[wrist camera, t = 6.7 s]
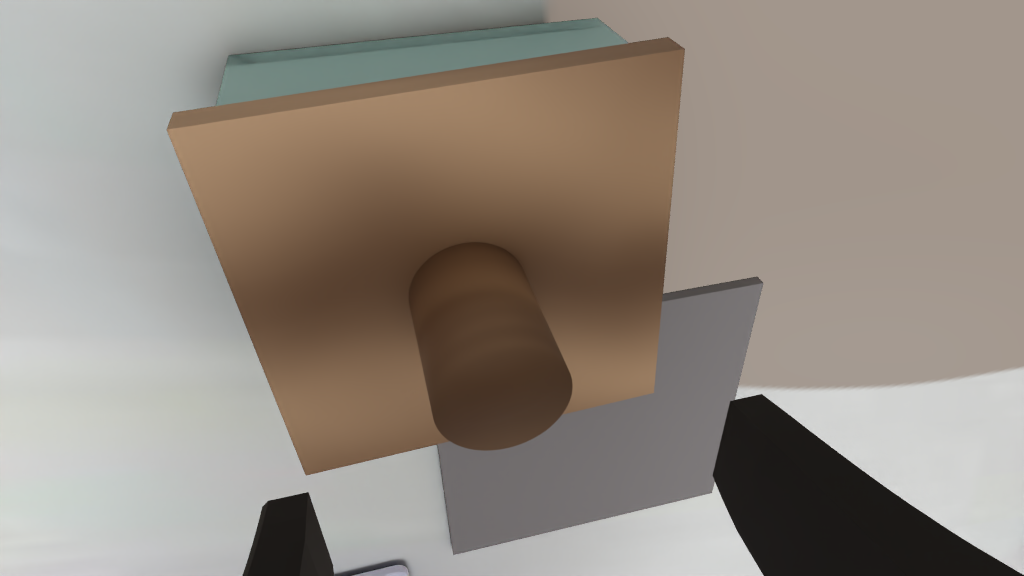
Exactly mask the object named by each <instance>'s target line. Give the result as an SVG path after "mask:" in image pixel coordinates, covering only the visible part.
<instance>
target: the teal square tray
mask: <svg viewBox="0 0 1024 576" xmlns="http://www.w3.org/2000/svg"><path fill="white" fill-rule="evenodd" d="M627 43H628V42H627V41H625V40H624V39H623V38H622V37H620V36H619V35H618V34H617V33H616V32H614V31H613V30H612V29H611V28H609V27H608V26H607V25H606V24H604V23H603V22H602V21H601V20H599V19H598V18H592V19H582V20H572V21H562V22H552V23H543V24H533V25H523V26H513V27H504V28H494V29H484V30H474V31H465V32H455V33H445V34H435V35H425V36H416V37H406V38H396V39H386V40H377V41H367V42H357V43H347V44H337V45H328V46H318V47H308V48H298V49H289V50H279V51H269V52H259V53H250V54H240V55H230V56H228V59H227V63H226V67H225V71H224V75H223V79H222V83H221V87H220V91H219V95H218V99H217V103H216V106H220V105H226V104H233V103H240V102H246V101H253V100H259V99H266V98H272V97H279V96H286V95H292V94H299V93H305V92H312V91H318V90H325V89H331V88H338V87H345V86H351V85H358V84H364V83H371V82H377V81H384V80H391V79H397V78H404V77H410V76H417V75H423V74H430V73H436V72H443V71H450V70H456V69H463V68H469V67H476V66H482V65H489V64H496V63H502V62H509V61H515V60H522V59H528V58H535V57H542V56H548V55H555V54H561V53H568V52H574V51H581V50H587V49H594V48H601V47H607V46H614V45H620V44H627Z"/></svg>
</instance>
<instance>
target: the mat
mask: <svg viewBox="0 0 1024 576" xmlns="http://www.w3.org/2000/svg"><path fill="white" fill-rule="evenodd" d="M762 287H763V282H762V281H761V280H760V279H759V278H758V277H753V278H747V279H742V280H737V281H731V282H726V283H720V284H714V285H709V286H703V287H698V288H692V289H687V290H682V291H676V292H670V293H665V294H663V297H662V308H661V319H660V330H659V341H658V352H657V363H656V375H655V386H654V393H651V394H647V395H643V396H639V397H635V398H630V399H626V400H622V401H618V402H614V403H609V404H605V405H601V406H597V407H592V408H588V409H584V410H580V411H576V412H571V413H567V414H563V415H561V417H560V418H559V419H558V420H557V421H556V422H555V423H554V424H553V425H552V426H551V427H550V428H549V429H547V430H546V431H545V432H543V433H542V434H540V435H539V436H537V437H535V438H534V439H531V440H529V441H527V442H525V443H522V444H520V445H517V446H514V447H510V448H506V449H501V450H492V451H481V450H472V449H467V448H464V447H461V446H458V445H456V444H454V443H452V442H450V441H449V442H445V443H441V444H438V451H439V458H440V465H441V473H442V480H443V487H444V494H445V501H446V508H447V515H448V522H449V529H450V536H451V543H452V549H453V554H454V555H455V554H459V553H464V552H468V551H472V550H476V549H480V548H484V547H488V546H493V545H497V544H501V543H505V542H509V541H513V540H518V539H522V538H526V537H530V536H534V535H538V534H543V533H547V532H551V531H555V530H559V529H563V528H568V527H572V526H576V525H580V524H584V523H588V522H593V521H597V520H601V519H605V518H609V517H613V516H618V515H622V514H626V513H630V512H634V511H638V510H643V509H647V508H651V507H655V506H659V505H663V504H667V503H672V502H676V501H680V500H684V499H688V498H692V497H697V496H701V495H705V494H709V493H712V490H713V486H714V482H715V480H714V478H713V476H712V475H713V471H714V467H715V463H716V458H717V454H718V450H719V446H720V441H721V437H722V433H723V429H724V425H725V420H726V416H727V412H728V408H729V404H730V401H733V400H735V397H736V392H737V388H738V384H739V380H740V376H741V372H742V368H743V364H744V360H745V356H746V352H747V347H748V344H749V339H750V335H751V331H752V327H753V323H754V319H755V315H756V311H757V307H758V303H759V299H760V295H761V290H762Z"/></svg>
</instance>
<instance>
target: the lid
mask: <svg viewBox="0 0 1024 576" xmlns="http://www.w3.org/2000/svg"><path fill="white" fill-rule="evenodd" d="M684 52H685V49H684V48H682V47H681V46H680V45H678V44H677V43H676V42H674V41H673V40H671V39H670V38H668V37H667V38H661V39H654V40H647V41H640V42H633V43H627V44H620V45H614V46H607V47H601V48H594V49H587V50H581V51H574V52H568V53H561V54H555V55H548V56H542V57H535V58H528V59H522V60H515V61H509V62H502V63H496V64H489V65H482V66H476V67H469V68H463V69H456V70H450V71H443V72H436V73H430V74H423V75H417V76H410V77H404V78H397V79H391V80H384V81H377V82H371V83H364V84H358V85H351V86H345V87H338V88H331V89H325V90H318V91H312V92H305V93H299V94H292V95H286V96H279V97H272V98H266V99H259V100H253V101H246V102H240V103H233V104H226V105H220V106H213V107H207V108H200V109H194V110H187V111H181V112H174V113H173V114H172V117H171V120H170V122H169V125H168V128H167V132H168V134H169V137H170V139H171V142H172V144H173V147H174V149H175V152H176V154H177V157H178V159H179V161H180V164H181V166H182V169H183V171H184V174H185V176H186V179H187V181H188V184H189V186H190V189H191V191H192V194H193V196H194V199H195V201H196V204H197V206H198V209H199V211H200V214H201V216H202V219H203V221H204V224H205V226H206V229H207V231H208V234H209V236H210V238H211V241H212V243H213V246H214V248H215V251H216V253H217V256H218V258H219V261H220V263H221V266H222V268H223V271H224V273H225V276H226V278H227V281H228V283H229V286H230V288H231V291H232V293H233V296H234V298H235V301H236V303H237V306H238V308H239V310H240V313H241V315H242V318H243V320H244V323H245V325H246V328H247V330H248V333H249V335H250V338H251V340H252V343H253V345H254V348H255V350H256V353H257V355H258V358H259V360H260V363H261V365H262V368H263V370H264V373H265V375H266V378H267V380H268V383H269V385H270V387H271V390H272V392H273V395H274V397H275V400H276V402H277V405H278V407H279V410H280V412H281V415H282V417H283V420H284V422H285V425H286V427H287V430H288V432H289V435H290V437H291V440H292V442H293V445H294V447H295V450H296V452H297V455H298V457H299V460H300V462H301V464H302V467H303V469H304V472H305V474H306V475H310V474H314V473H318V472H323V471H327V470H331V469H335V468H340V467H344V466H348V465H352V464H356V463H361V462H365V461H369V460H373V459H378V458H382V457H386V456H390V455H394V454H399V453H403V452H407V451H411V450H415V449H420V448H424V447H428V446H432V445H437V444H441V443H445V442H449V441H450V442H452V443H454V444H456V445H458V446H461V447H464V448H467V449H472V450H481V451H492V450H501V449H506V448H510V447H514V446H517V445H520V444H522V443H525V442H527V441H529V440H531V439H534V438H535V437H537V436H539V435H540V434H542V433H543V432H545V431H546V430H547V429H549V428H550V427H551V426H552V425H553V424H554V423H555V422H556V421H557V420H558V419H559V418H560V417H561V415H563V414H567V413H571V412H576V411H580V410H584V409H588V408H592V407H597V406H601V405H605V404H609V403H614V402H618V401H622V400H626V399H630V398H635V397H639V396H643V395H647V394H651V393H654V386H655V375H656V363H657V352H658V341H659V330H660V319H661V308H662V297H663V286H664V274H665V263H666V252H667V241H668V230H669V218H670V207H671V197H672V186H673V174H674V163H675V152H676V141H677V130H678V119H679V108H680V96H681V84H682V74H683V63H684Z"/></svg>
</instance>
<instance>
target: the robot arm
mask: <svg viewBox="0 0 1024 576" xmlns="http://www.w3.org/2000/svg"><path fill="white" fill-rule="evenodd" d="M712 476H713V478H714V480H715V483H716V485H717V487H718V490H719V492H720V494H721V497H722V499H723V501H724V503H725V506H726V508H727V510H728V512H729V514H730V516H731V519H732V521H733V523H734V525H735V527H736V529H737V531H738V533H739V535H740V536H741V538H742V540H743V541H744V543H745V545H746V547H747V548H748V550H749V552H750V553H751V555H752V557H753V558H754V560H755V562H756V563H757V565H758V567H759V568H760V570H761V572H762V573H763V575H764V576H1024V575H1022V574H1021V573H1019V572H1017V571H1016V570H1014V569H1012V568H1011V567H1009V566H1007V565H1005V564H1004V563H1002V562H1000V561H999V560H997V559H995V558H994V557H992V556H990V555H988V554H987V553H985V552H983V551H982V550H980V549H978V548H977V547H975V546H973V545H972V544H970V543H968V542H967V541H965V540H964V539H962V538H960V537H959V536H957V535H956V534H954V533H952V532H951V531H949V530H948V529H946V528H945V527H943V526H942V525H940V524H939V523H937V522H936V521H934V520H933V519H931V518H930V517H928V516H927V515H925V514H924V513H922V512H921V511H919V510H918V509H916V508H915V507H913V506H912V505H910V504H909V503H907V502H906V501H904V500H903V499H901V498H900V497H899V496H897V495H896V494H894V493H893V492H891V491H890V490H889V489H887V488H886V487H884V486H883V485H882V484H880V483H879V482H877V481H876V480H875V479H873V478H872V477H870V476H869V475H868V474H866V473H865V472H864V471H862V470H861V469H859V468H858V467H857V466H855V465H854V464H853V463H851V462H850V461H849V460H847V459H846V458H845V457H843V456H842V455H841V454H839V453H838V452H837V451H835V450H834V449H833V448H831V447H830V446H829V445H827V444H826V443H825V442H824V441H822V440H821V439H820V438H818V437H817V436H816V435H814V434H813V433H812V432H810V431H809V430H808V429H807V428H805V427H804V426H803V425H801V424H800V423H799V422H797V421H796V420H795V419H794V418H792V417H791V416H790V415H788V414H787V413H786V412H785V411H783V410H782V409H781V408H779V407H778V406H777V405H775V404H774V403H773V402H771V401H770V400H769V399H767V398H766V397H765V396H763V395H762V394H761V395H756V396H751V397H747V398H742V399H737V400H733V401H730V404H729V408H728V412H727V416H726V420H725V425H724V429H723V433H722V437H721V441H720V446H719V450H718V454H717V458H716V463H715V467H714V471H713V475H712ZM243 576H334V572H333V564H332V561H331V558H330V555H329V552H328V549H327V546H326V543H325V540H324V537H323V534H322V531H321V528H320V525H319V522H318V519H317V516H316V513H315V510H314V507H313V504H312V502H311V499H310V496H309V493H308V492H307V493H303V494H298V495H294V496H289V497H284V498H280V499H275V500H270V501H268V502H267V503H266V504H265V505H264V506H263V507H262V511H261V515H260V519H259V523H258V527H257V531H256V534H255V538H254V541H253V545H252V548H251V551H250V554H249V558H248V561H247V564H246V567H245V570H244V573H243ZM352 576H409V573H408V569H407V567H405V566H403V565H394V566H390V567H386V568H381V569H377V570H373V571H369V572H365V573H361V574H356V575H352Z"/></svg>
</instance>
